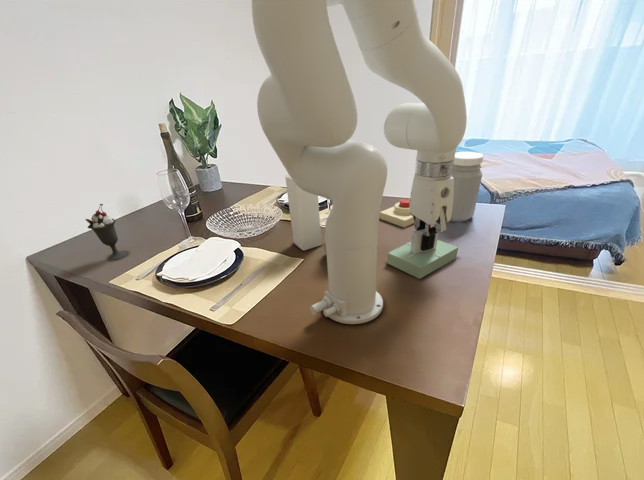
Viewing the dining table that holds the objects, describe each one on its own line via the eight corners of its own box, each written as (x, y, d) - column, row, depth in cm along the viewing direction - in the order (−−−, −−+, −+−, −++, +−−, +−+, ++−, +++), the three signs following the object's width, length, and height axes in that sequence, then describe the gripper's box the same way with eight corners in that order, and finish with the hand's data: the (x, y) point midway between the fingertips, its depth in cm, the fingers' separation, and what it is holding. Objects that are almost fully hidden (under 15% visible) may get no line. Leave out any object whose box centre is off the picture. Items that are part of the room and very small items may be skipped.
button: (406, 209, 100) (406, 203, 99) (397, 206, 102) (397, 201, 101) (413, 206, 102) (414, 200, 101) (404, 203, 104) (405, 198, 103)
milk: (303, 251, 90) (293, 168, 77) (293, 243, 95) (282, 163, 82) (322, 245, 93) (315, 163, 79) (312, 237, 97) (304, 158, 84)
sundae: (135, 251, 98) (112, 201, 89) (118, 262, 92) (93, 211, 84) (117, 249, 99) (93, 201, 90) (99, 260, 94) (73, 210, 85)
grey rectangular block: (414, 254, 79) (416, 234, 76) (410, 250, 80) (412, 230, 77) (436, 248, 80) (439, 228, 77) (431, 245, 82) (434, 225, 78)
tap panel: (420, 279, 75) (421, 267, 73) (386, 263, 82) (387, 252, 80) (456, 258, 82) (458, 246, 80) (423, 244, 89) (424, 234, 87)
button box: (404, 227, 98) (405, 214, 96) (379, 218, 105) (380, 206, 102) (429, 216, 104) (431, 203, 101) (404, 208, 110) (405, 196, 108)
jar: (469, 224, 96) (483, 160, 86) (435, 220, 101) (444, 158, 90) (475, 213, 103) (489, 151, 93) (443, 209, 107) (452, 149, 97)
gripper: (475, 174, 64) (458, 257, 74) (427, 157, 76) (418, 231, 87) (442, 180, 62) (429, 265, 73) (398, 162, 74) (393, 237, 85)
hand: (423, 246), depth 80 cm, fingers closed on grey rectangular block, 2 cm apart
